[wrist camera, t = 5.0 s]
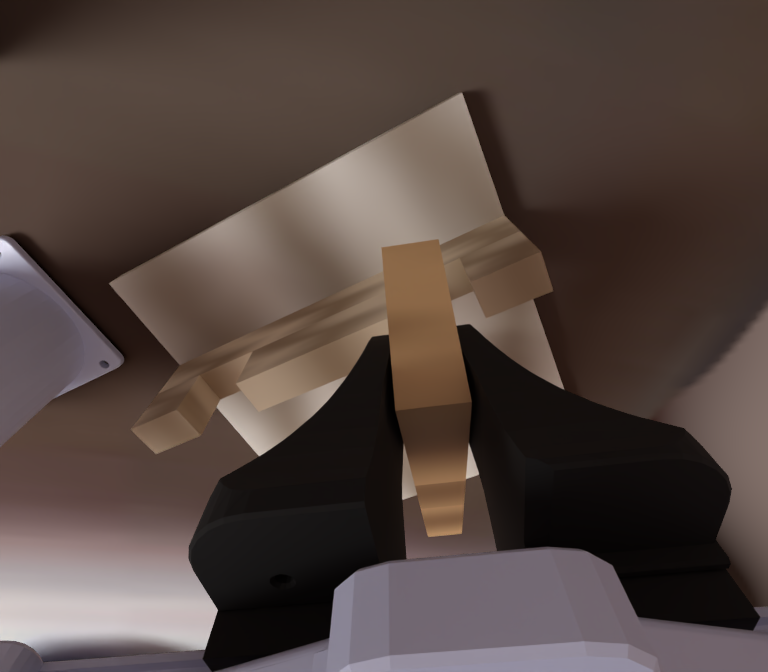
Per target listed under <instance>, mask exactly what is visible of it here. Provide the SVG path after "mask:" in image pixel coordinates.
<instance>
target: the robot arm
mask: <svg viewBox="0 0 768 672" xmlns="http://www.w3.org/2000/svg"><path fill="white" fill-rule="evenodd" d="M0 252H1V254H0V447H1V446H2V445H3V444H4V443H5V442H6V441H7V440H8V439H9V438H11V437H12V436H13V435H14V434H15V433H16V432H17V431H18V430H19V429H20V428H21V427H23V426H24V425H25V424H26V423H27V422H28V421H29V420H30V419H31V418H32V417H34V416H35V415H36V414H37V413H38V412H39V411H40V410H41V409H42V408H43V407H45V406H46V405H47V404H48V403H49V402H50V401H51V400H52V399H54V398H56V397H58V396H60V395H62V394H64V393H66V392H68V391H70V390H73V389H75V388H77V387H79V386H81V385H83V384H85V383H87V382H89V381H91V380H93V379H95V378H98V377H100V376H102V375H104V374H106V373H108V372H110V371H112V370H114V369H116V368H118V367H120V366H121V365H122V364H123V363H124V357H123V355H122V354H121V353H120V352H119V351H118V350H117V349H116V348H115V347H114V345H113V344H112V343H111V342H110V341H109V340H108V339H107V338H106V337H105V336H104V335H103V334H102V333H101V332H100V331H99V330H98V328H97V327H96V326H95V325H94V324H93V323H92V322H91V321H90V320H89V319H88V318H87V317H86V316H85V315H84V314H83V312H82V311H81V310H80V309H79V308H78V307H77V306H76V305H75V304H74V303H73V302H72V301H71V300H70V299H69V298H68V296H67V295H66V294H65V293H64V292H63V291H62V290H61V289H60V288H59V287H58V286H57V285H56V284H55V283H54V282H53V281H52V279H51V278H50V277H49V276H48V275H47V274H46V273H45V272H44V271H43V270H42V269H41V268H40V267H39V266H38V265H37V263H36V262H35V261H34V260H33V259H32V258H31V257H30V256H29V255H28V254H27V253H26V252H25V251H24V250H23V249H22V247H21V246H20V245H19V244H18V243H17V242H16V241H15V240H14V239H12V238H10V237H8V236H0ZM456 327H457V332H458V336H459V341H460V346H461V351H462V356H463V361H464V366H465V371H466V375H467V380H468V385H469V390H470V395H471V400H472V407H471V420H470V433H469V445H470V448H471V451H472V454H473V457H474V460H475V463H476V466H477V469H478V472H479V475H480V478H481V482H482V485H483V489H484V493H485V497H486V502H487V506H488V511H489V515H490V520H491V525H492V529H493V534H494V539H495V543H496V548H497V551H494V552H483V553H472V554H461V555H450V556H439V557H428V558H417V559H406V546H405V532H404V517H403V502H402V475H403V448H404V442H403V438H402V434H401V431H400V427H399V423H398V419H397V415H396V411H395V401H394V389H393V377H392V366H391V354H390V342H389V335H381V336H373V337H371V339H370V340H369V341H368V343H367V345H366V347H365V349H364V351H363V352H362V354H361V356H360V357H359V359H358V361H357V362H356V364H355V365H354V367H353V368H352V370H351V371H350V373H349V374H348V376H347V377H346V378H345V380H344V381H343V382H342V384H341V385H340V386H339V387H338V389H337V390H336V391H335V393H334V394H333V395H332V396H331V397H330V399H329V400H328V401H327V402H326V403H325V404H324V405H323V406H322V407H321V408H320V409H319V410H318V411H317V412H316V413H315V414H314V415H313V416H312V417H311V418H310V419H308V420H307V421H306V422H305V423H304V424H302V425H301V426H300V427H299V428H298V429H297V430H295V431H294V432H293V433H292V434H291V435H289V436H288V437H287V438H285V439H284V440H283V441H281V442H280V443H278V444H277V445H276V446H274V447H273V448H271V449H270V450H268V451H267V452H265V453H264V454H262V455H261V456H259V457H257V458H256V459H254V460H253V461H251V462H249V463H247V464H246V465H244V466H242V467H240V468H239V469H237V470H235V471H233V472H232V473H230V474H228V475H226V476H224V477H222V478H221V479H220V480H219V482H218V484H217V486H216V487H215V489H214V491H213V493H212V495H211V497H210V499H209V501H208V503H207V506H206V508H205V510H204V512H203V515H202V517H201V519H200V522H199V524H198V526H197V529H196V531H195V533H194V536H193V538H192V540H191V543H190V545H189V561H190V563H191V566H192V568H193V571H194V572H195V574H196V576H197V577H198V579H199V580H200V582H201V583H202V585H203V587H204V588H205V590H206V591H207V593H208V595H209V596H210V598H211V599H212V601H213V603H214V604H215V606H216V607H217V609H218V612H217V615H216V618H215V622H214V625H213V628H212V631H211V634H210V637H209V640H208V643H207V646H206V649H205V650H197V651H184V652H171V653H158V654H145V655H132V656H119V657H106V658H93V659H80V660H67V661H54V662H43V661H42V658H41V657H40V656H39V654H38V653H37V652H36V651H35V650H34V649H32V648H31V647H29V646H28V645H26V644H23V643H20V642H16V641H0V672H768V607H756V608H754V607H753V606H752V605H751V603H750V602H749V600H748V599H747V598H746V596H745V595H744V594H743V592H742V591H741V590H740V588H739V587H738V585H737V584H736V583H735V581H734V580H733V578H732V577H731V576H730V574H729V573H728V571H727V570H726V568H729V566H730V560H729V557H728V556H727V554H726V553H725V552H724V550H723V549H722V548H721V547H720V545H719V544H718V542H717V541H716V537H717V534H718V531H719V529H720V526H721V523H722V521H723V518H724V515H725V513H726V510H727V508H728V505H729V502H730V496H731V490H732V488H731V484H730V481H729V477H728V475H727V474H726V473H725V472H724V471H723V469H722V468H721V467H720V466H719V465H718V464H717V463H716V462H715V460H714V459H713V458H712V457H711V456H710V455H709V453H708V452H707V451H706V450H705V449H704V448H703V446H701V445H700V443H699V442H697V440H695V439H694V438H693V436H692V435H691V434H689V433H688V432H687V431H686V430H685V429H684V428H681V427H677V426H673V425H668V424H665V423H661V422H657V421H653V420H649V419H645V418H641V417H637V416H634V415H630V414H627V413H624V412H621V411H618V410H615V409H612V408H608V407H606V406H603V405H600V404H597V403H595V402H592V401H589V400H587V399H585V398H582V397H580V396H578V395H575V394H573V393H570V392H568V391H566V390H564V389H562V388H560V387H558V386H556V385H554V384H552V383H550V382H548V381H546V380H544V379H543V378H541V377H539V376H537V375H535V374H534V373H532V372H530V371H529V370H527V369H526V368H524V367H523V366H521V365H520V364H518V363H517V362H515V361H514V360H512V359H511V358H510V357H508V356H507V355H506V354H505V353H503V352H502V351H501V350H499V349H498V348H497V347H496V346H495V345H493V344H492V343H491V342H490V341H489V340H488V339H486V338H485V337H484V336H483V335H482V334H481V333H480V332H479V331H478V330H476V329H475V328H474V327H473V326H472V325H471V324H465V325H457V326H456ZM104 361H106V362H108V364H106V363H105V362H104Z"/></svg>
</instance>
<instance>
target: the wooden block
mask: <svg viewBox="0 0 768 672" xmlns="http://www.w3.org/2000/svg"><path fill="white" fill-rule="evenodd" d="M381 249H382V260H383V272H384V284H385V296H386V307H387V319H388V331H389V342H390V354H391V366H392V377H393V389H394V401H395V411H396V415H397V419H398V423H399V427H400V431H401V434H402V438H403V442H404V446H405V450H406V454H407V457H408V461H409V465H410V469H411V473H412V477H413V480H414V484H415V488H416V492H417V496H418V500H419V504H420V507H421V511H422V515H423V519H424V523H425V527H426V530H427V534H428V537H432V536H442V535H453V534H462V523H463V510H464V497H465V485H466V472H467V459H468V446H469V433H470V420H471V407H472V400H471V395H470V390H469V385H468V380H467V375H466V371H465V366H464V361H463V356H462V351H461V346H460V341H459V336H458V332H457V327H456V322H455V317H454V312H453V307H452V302H451V297H450V292H449V288H448V283H447V278H446V273H445V268H444V263H443V258H442V253H441V249H440V244H439V239H436V240H429V241H422V242H415V243H409V244H402V245H395V246H388V247H381Z"/></svg>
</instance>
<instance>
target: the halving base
mask: <svg viewBox="0 0 768 672" xmlns="http://www.w3.org/2000/svg"><path fill="white" fill-rule="evenodd" d="M436 239H439V244H440V249H441V253H442V258H443V263H444V268H445V273H446V278H447V283H448V288H449V292H450V297H451V302H452V307H453V312H454V317H455V322H456V326H457V325H465V324H471V325H472V326H473V327H474V328H475V329H476V330H478V331H479V332H480V333H481V334H482V335H483V336H484V337H485V338H486V339H488V340H489V341H490V342H491V343H492V344H493V345H495V346H496V347H497V348H498V349H499V350H501V351H502V352H503V353H505V354H506V355H507V356H508V357H510V358H511V359H512V360H514V361H515V362H517V363H518V364H520V365H521V366H523V367H524V368H526V369H527V370H529V371H530V372H532V373H534V374H535V375H537V376H539V377H541V378H543V379H544V380H546V381H548V382H550V383H552V384H554V385H556V386H558V387H560V388H562V389H564V387H563V384H562V381H561V378H560V376H559V373H558V370H557V367H556V364H555V361H554V358H553V355H552V352H551V349H550V346H549V344H548V341H547V338H546V335H545V332H544V329H543V326H542V323H541V320H540V317H539V315H538V312H537V309H536V306H535V303H534V300H533V299H535V298H537V297H540V296H542V295H545V294H547V293H550V292H552V291H553V288H552V285H551V282H550V279H549V275H548V272H547V269H546V266H545V263H544V260H543V256H542V253H541V251H540V250H539V249H538V248H537V247H536V246H535V245H534V244H533V243H532V242H531V241H530V240H529V239H528V238H527V237H526V236H525V235H524V234H523V233H522V232H521V231H520V230H519V229H518V228H517V227H516V226H515V225H514V224H513V223H512V222H511V221H510V220H509V219H508V218H507V217H506V216H505V215H504V213H503V210H502V207H501V204H500V201H499V198H498V195H497V193H496V190H495V187H494V184H493V181H492V178H491V175H490V172H489V169H488V166H487V163H486V161H485V158H484V155H483V152H482V149H481V146H480V143H479V140H478V137H477V134H476V132H475V129H474V126H473V123H472V120H471V117H470V114H469V111H468V108H467V105H466V103H465V100H464V97H463V94H462V93H457V94H455V95H453V96H451V97H449V98H447V99H446V100H444V101H442V102H440V103H438V104H436V105H434V106H433V107H431V108H429V109H427V110H425V111H423V112H422V113H420V114H418V115H416V116H414V117H412V118H410V119H409V120H407V121H405V122H403V123H401V124H399V125H398V126H396V127H394V128H392V129H390V130H388V131H386V132H385V133H383V134H381V135H379V136H377V137H375V138H374V139H372V140H370V141H368V142H366V143H364V144H362V145H361V146H359V147H357V148H355V149H353V150H351V151H350V152H348V153H346V154H344V155H342V156H340V157H338V158H337V159H335V160H333V161H331V162H329V163H327V164H326V165H324V166H322V167H320V168H318V169H316V170H314V171H313V172H311V173H309V174H307V175H305V176H303V177H302V178H300V179H298V180H296V181H294V182H292V183H290V184H289V185H287V186H285V187H283V188H281V189H279V190H278V191H276V192H274V193H272V194H270V195H268V196H266V197H265V198H263V199H261V200H259V201H257V202H255V203H254V204H252V205H250V206H248V207H246V208H244V209H242V210H241V211H239V212H237V213H235V214H233V215H231V216H230V217H228V218H226V219H224V220H222V221H220V222H218V223H217V224H215V225H213V226H211V227H209V228H207V229H206V230H204V231H202V232H200V233H198V234H196V235H194V236H193V237H191V238H189V239H187V240H185V241H183V242H182V243H180V244H178V245H176V246H174V247H172V248H170V249H169V250H167V251H165V252H163V253H161V254H159V255H158V256H156V257H154V258H152V259H150V260H148V261H146V262H145V263H143V264H141V265H139V266H137V267H135V268H134V269H132V270H130V271H128V272H126V273H124V274H122V275H121V276H119V277H118V278H116V279H115V280H113V281H112V282H110V283H109V284H110V286H111V287H112V288H113V289H114V290H115V291H116V292H117V294H118V295H119V296H120V297H121V298H122V299H123V300H124V302H125V303H126V304H127V305H128V306H129V307H130V309H131V310H132V311H133V312H134V313H135V314H136V315H137V317H138V318H139V319H140V320H141V321H142V322H143V323H144V325H145V326H146V327H147V328H148V329H149V330H150V331H151V333H152V334H153V335H154V336H155V337H156V338H157V339H158V341H159V342H160V343H161V344H162V345H163V346H164V348H165V349H166V350H167V351H168V352H169V353H170V354H171V356H172V357H173V358H174V359H175V360H176V361H177V362H178V364H179V365H180V366H179V367H178V368H177V370H176V371H175V372H174V373H173V375H172V376H171V377H170V379H169V380H168V381H167V383H166V384H165V385H164V387H163V388H162V389H161V390H160V392H159V393H158V394H157V396H156V397H155V398H154V400H153V401H152V402H151V404H150V405H149V406H148V408H147V409H146V410H145V411H144V413H143V414H142V415H141V417H140V418H139V419H138V421H137V422H136V423H135V425H134V426H133V427H132V429H131V430H132V431H133V432H134V433H135V434H136V435H137V436H138V437H139V438H140V439H141V440H142V441H143V442H144V443H145V444H146V445H147V446H148V447H149V448H150V449H151V450H152V451H153V452H154V453H155V454H157V453H160V452H162V451H165V450H167V449H170V448H172V447H174V446H177V445H179V444H182V443H184V442H187V441H189V440H191V439H194V438H196V437H199V436H201V435H202V433H203V431H204V429H205V427H206V425H207V423H208V422H209V420H210V418H211V416H212V414H213V412H214V411H215V409H216V407H217V408H218V409H219V411H220V412H221V413H222V414H223V415H224V416H225V418H226V419H227V420H228V421H229V422H230V423H231V424H232V426H233V427H234V428H235V429H236V430H237V431H238V432H239V434H240V435H241V436H242V437H243V438H244V439H245V440H246V442H247V443H248V444H249V445H250V446H251V447H252V448H253V450H254V451H255V452H256V453H257V454H258V455H259V456H261V455H262V454H264V453H265V452H267V451H268V450H270V449H271V448H273V447H274V446H276V445H277V444H278V443H280V442H281V441H283V440H284V439H285V438H287V437H288V436H289V435H291V434H292V433H293V432H294V431H295V430H297V429H298V428H299V427H300V426H301V425H302V424H304V423H305V422H306V421H307V420H308V419H310V418H311V417H312V416H313V415H314V414H315V413H316V412H317V411H318V410H319V409H320V408H321V407H322V406H323V405H324V404H325V403H326V402H327V401H328V400H329V399H330V397H331V396H332V395H333V394H334V393H335V391H336V390H337V389H338V387H339V386H340V385H341V384H342V382H343V381H344V380H345V378H346V377H347V376H348V374H349V373H350V371H351V370H352V368H353V367H354V365H355V364H356V362H357V361H358V359H359V357H360V356H361V354H362V352H363V351H364V349H365V347H366V345H367V343H368V341H369V340H370V339H371V337H373V336H381V335H389V331H388V319H387V307H386V296H385V284H384V272H383V260H382V249H381V247H388V246H395V245H402V244H409V243H415V242H422V241H429V240H436ZM476 475H479V472H478V469H477V466H476V463H475V460H474V457H473V454H472V451H471V448H470V445H469V446H468V459H467V472H466V479H467V478H470V477H473V476H476ZM415 495H417V492H416V488H415V484H414V480H413V477H412V473H411V469H410V465H409V461H408V457H407V454H406V450H405V446H404V448H403V475H402V500H403V499H406V498H409V497H412V496H415Z"/></svg>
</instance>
